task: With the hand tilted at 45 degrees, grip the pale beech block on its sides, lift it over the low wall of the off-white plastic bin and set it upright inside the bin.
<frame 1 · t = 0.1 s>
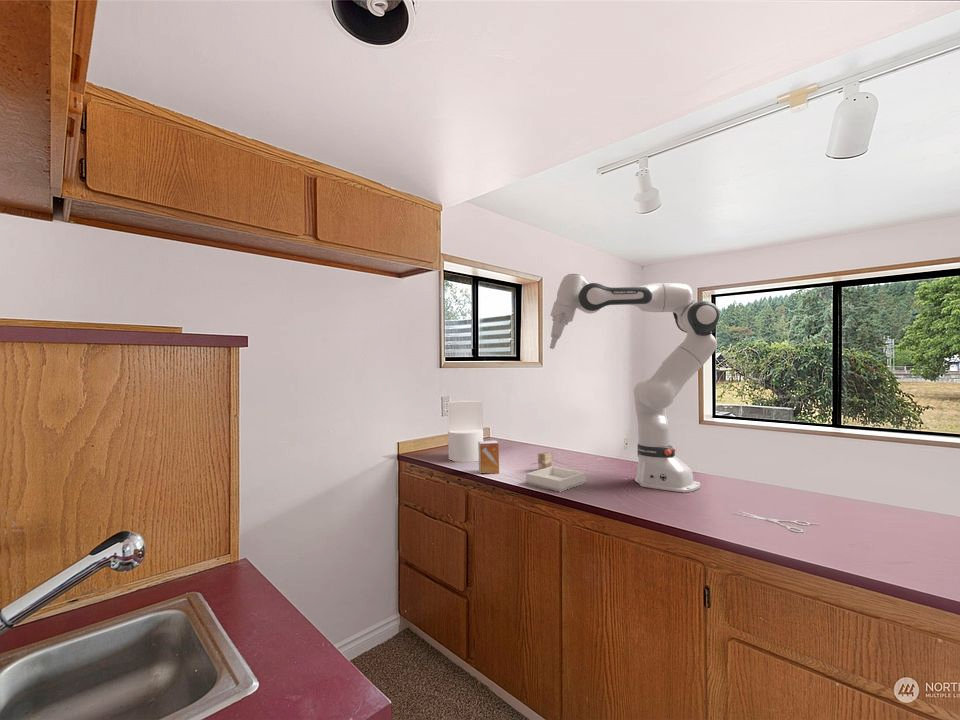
hand: (551, 348, 172), 52 cm above the worktop, tool tilted 20°, fingers open, 8 cm apart
beech block: (545, 470, 189), on the worktop
small box: (489, 472, 188), on the worktop
bin: (555, 483, 168), on the worktop
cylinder: (466, 459, 217), on the worktop
scissors: (771, 522, 125), on the worktop
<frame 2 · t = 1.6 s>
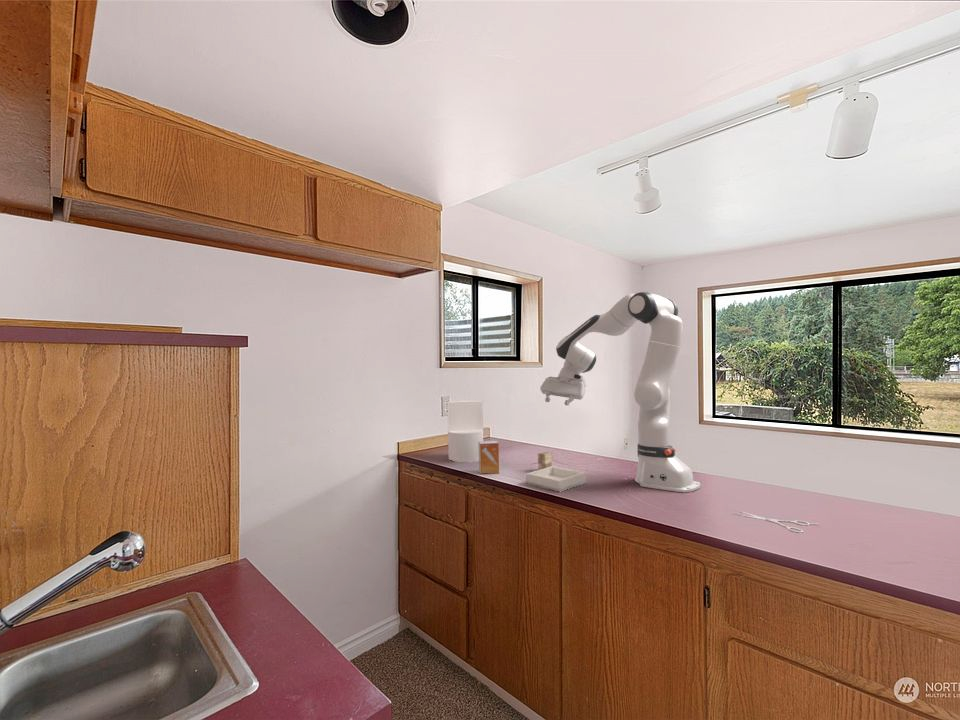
hand: (556, 402, 195), 28 cm above the worktop, tool tilted 45°, fingers open, 8 cm apart
nothing on the worktop moved.
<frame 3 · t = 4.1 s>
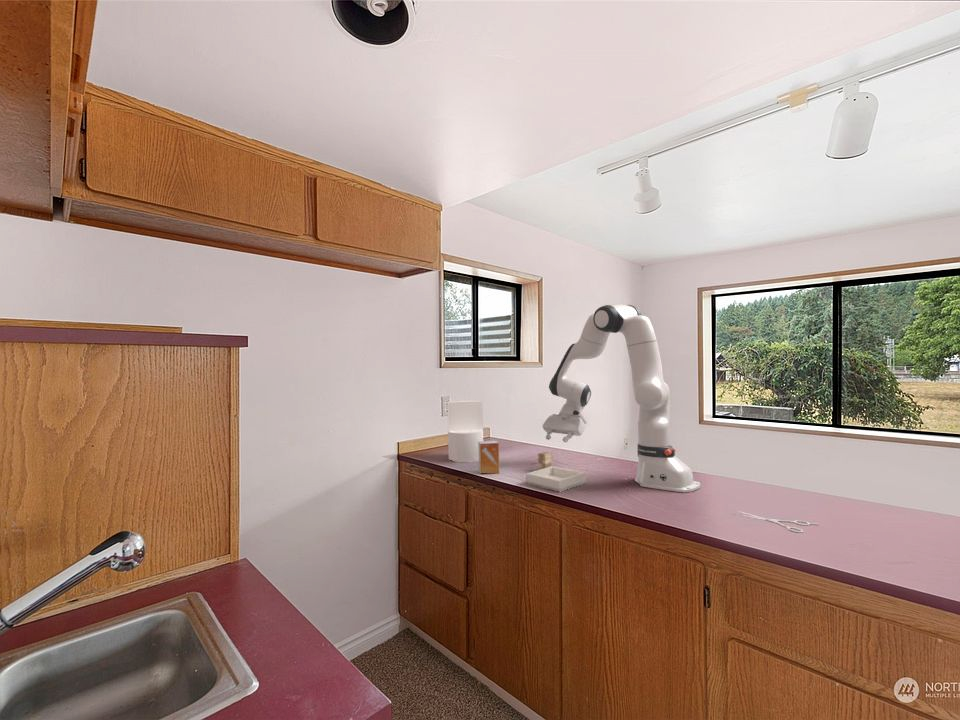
hand: (555, 440, 194), 12 cm above the worktop, tool tilted 45°, fingers open, 8 cm apart
nothing on the worktop moved.
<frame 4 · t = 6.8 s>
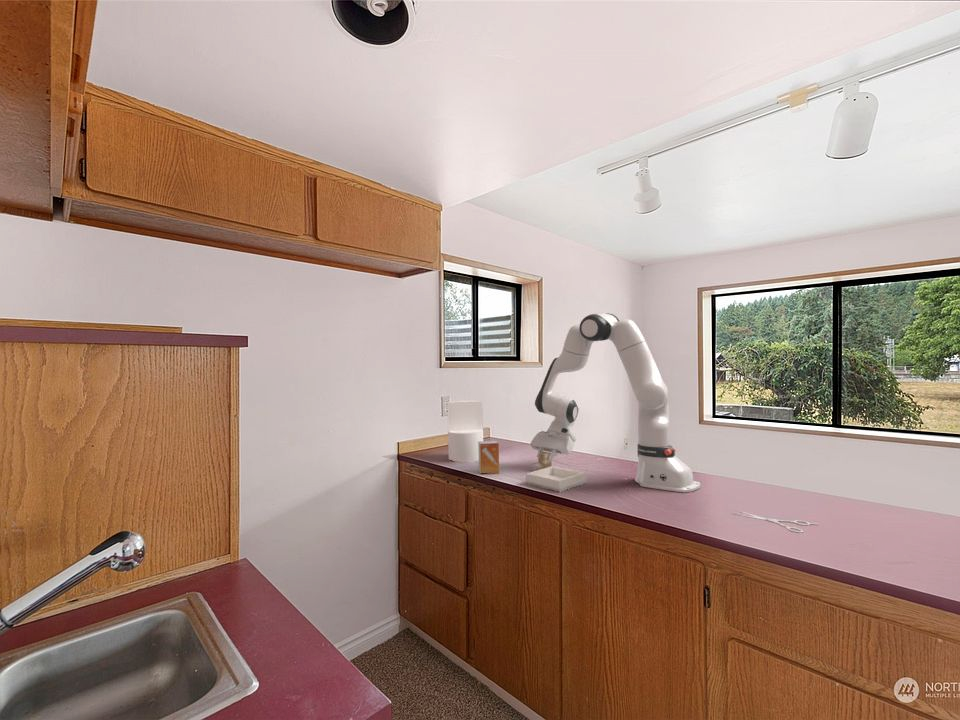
hand: (543, 458, 188), 5 cm above the worktop, tool tilted 45°, fingers closed on beech block, 4 cm apart
beech block: (545, 470, 189), on the worktop, touching gripper
everything else where it was.
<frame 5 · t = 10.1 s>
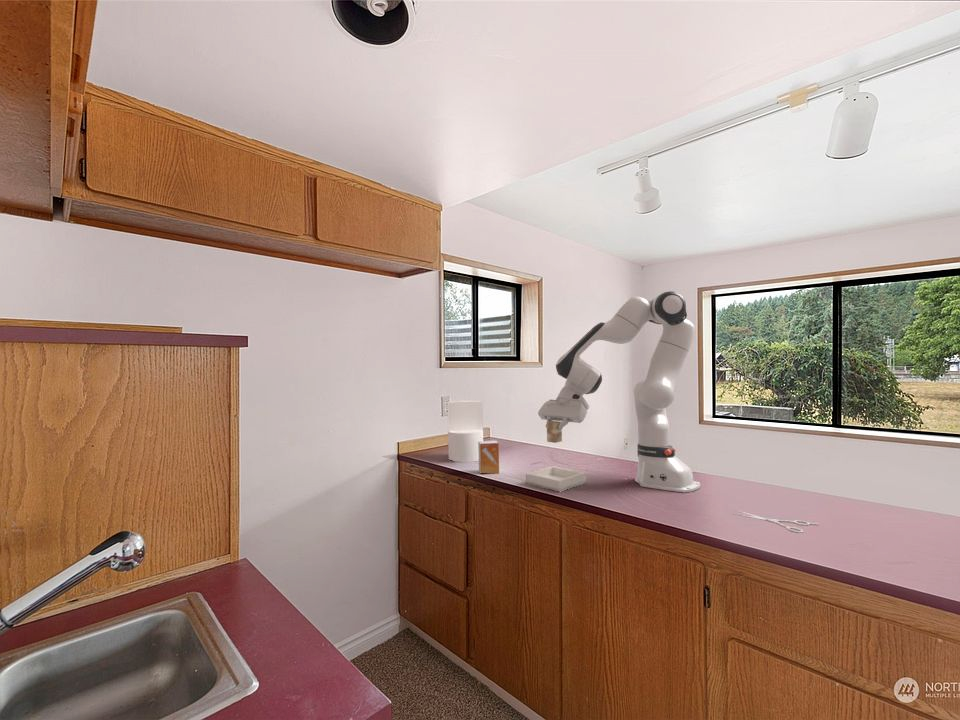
hand: (553, 428, 169), 21 cm above the worktop, tool tilted 45°, fingers closed on beech block, 4 cm apart
beech block: (554, 441, 169), point 16 cm above the worktop, touching gripper
everything else where it was.
when the fingers open (8 cm above the worktop, at t = 13.9 s): beech block drops 1 cm, resting on bin.
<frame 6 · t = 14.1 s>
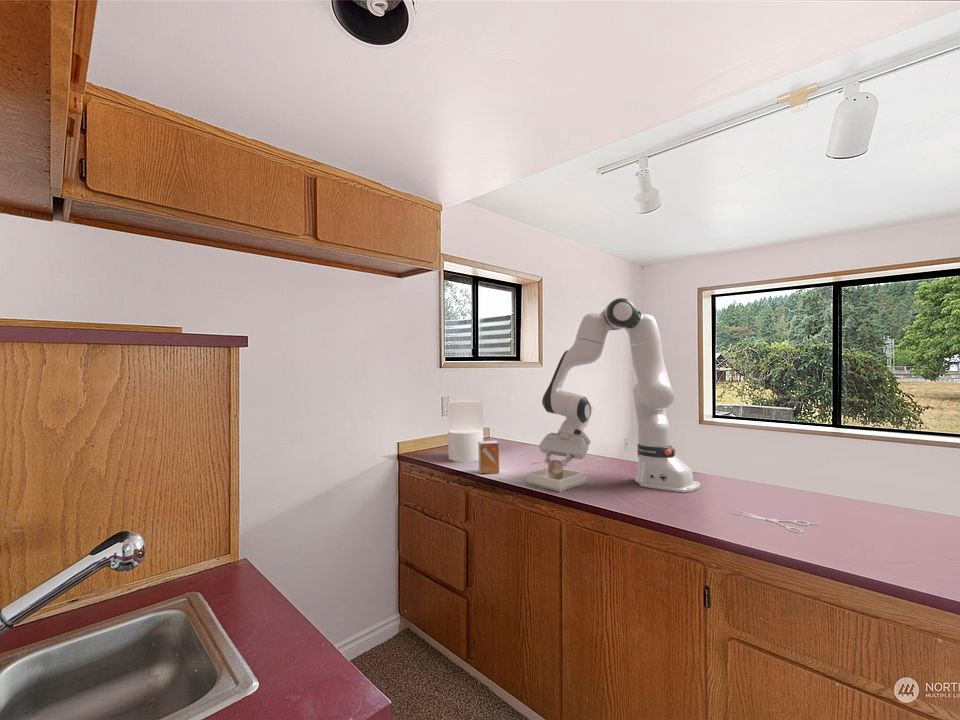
hand: (554, 463, 168), 8 cm above the worktop, tool tilted 45°, fingers open, 6 cm apart
beech block: (555, 481, 168), point 1 cm above the worktop, touching bin
everything else where it was.
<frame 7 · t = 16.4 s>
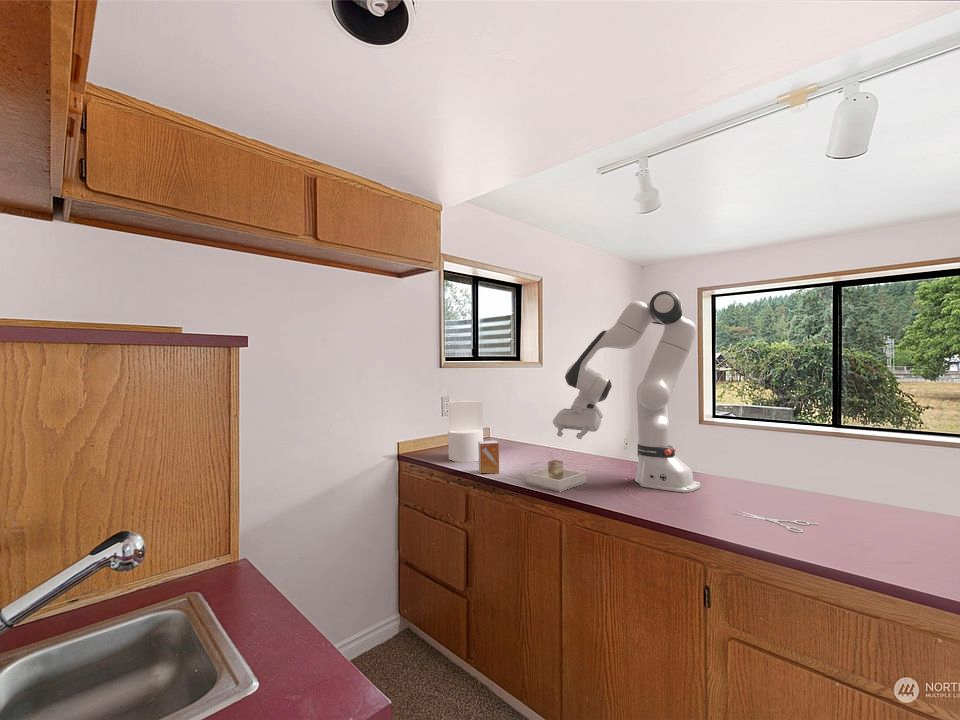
hand: (568, 436, 174), 17 cm above the worktop, tool tilted 45°, fingers open, 8 cm apart
nothing on the worktop moved.
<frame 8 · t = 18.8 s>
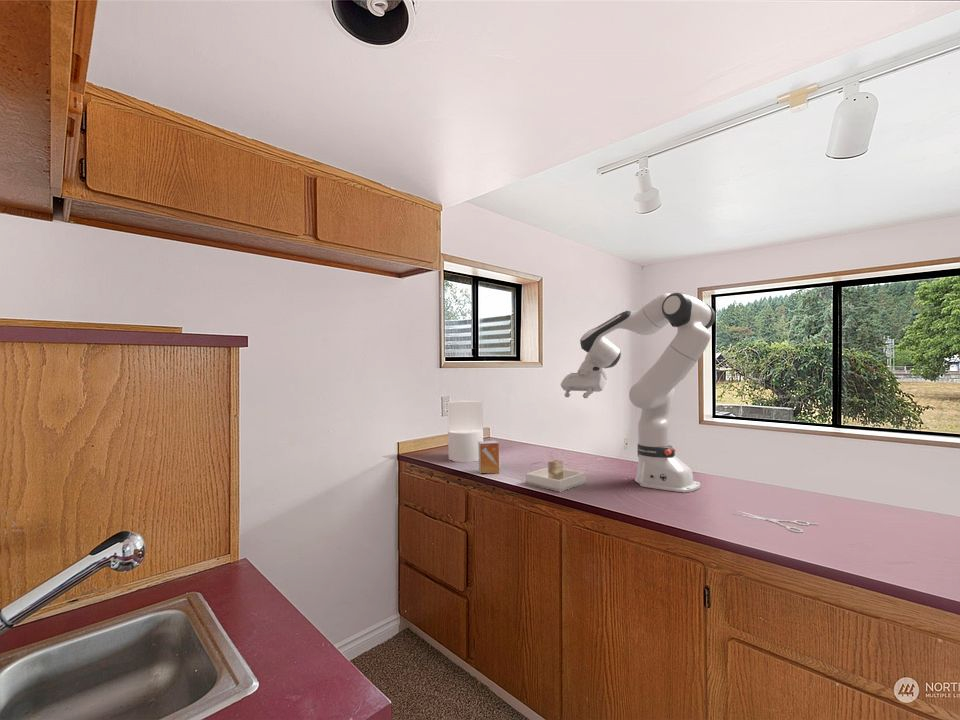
hand: (575, 396, 188), 31 cm above the worktop, tool tilted 45°, fingers open, 8 cm apart
nothing on the worktop moved.
at the end: beech block inside the target area on the bin (0.0 cm from its centre), point 1.0 cm above the bin's base; beech block tilted 0°; the gripper is holding nothing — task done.
